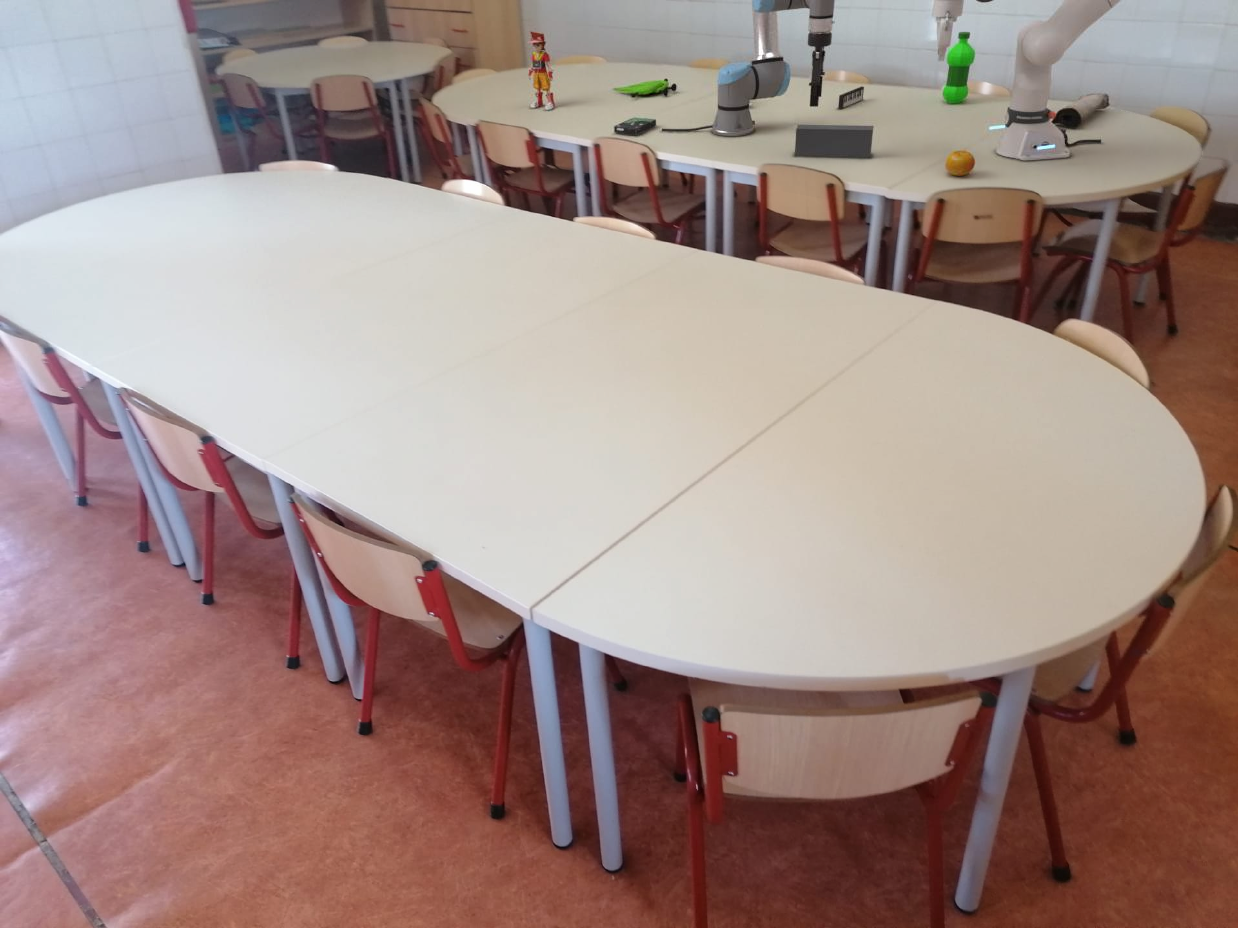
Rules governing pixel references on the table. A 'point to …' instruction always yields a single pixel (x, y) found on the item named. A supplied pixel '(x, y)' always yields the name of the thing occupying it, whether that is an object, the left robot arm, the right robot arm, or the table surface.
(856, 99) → the midi keyboard
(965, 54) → the plastic bottle
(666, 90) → the toy
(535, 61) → the toy
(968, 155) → the fruit
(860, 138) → the bar
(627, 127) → the disk drive
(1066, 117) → the rolled mat
